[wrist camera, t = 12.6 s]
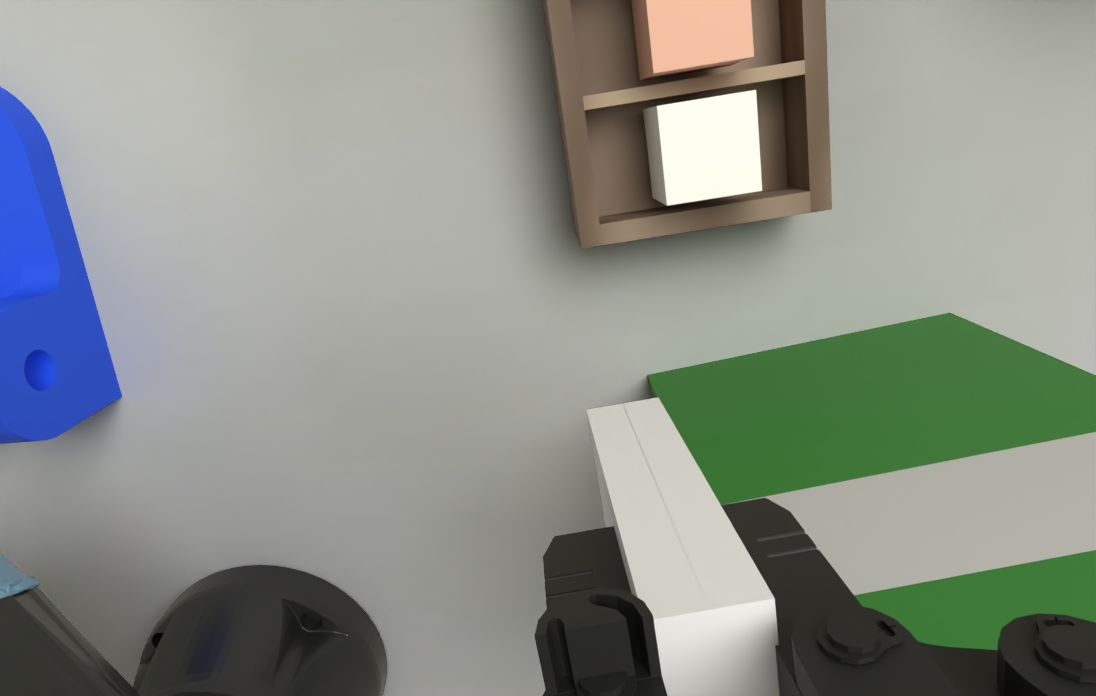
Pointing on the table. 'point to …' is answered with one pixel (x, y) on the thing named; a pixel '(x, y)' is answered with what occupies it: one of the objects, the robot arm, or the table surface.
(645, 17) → the peach cube
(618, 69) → the wooden compartment tray
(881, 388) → the hardback book
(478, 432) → the table surface
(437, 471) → the table surface
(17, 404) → the bracket
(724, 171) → the white cube
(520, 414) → the table surface
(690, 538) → the robot arm
